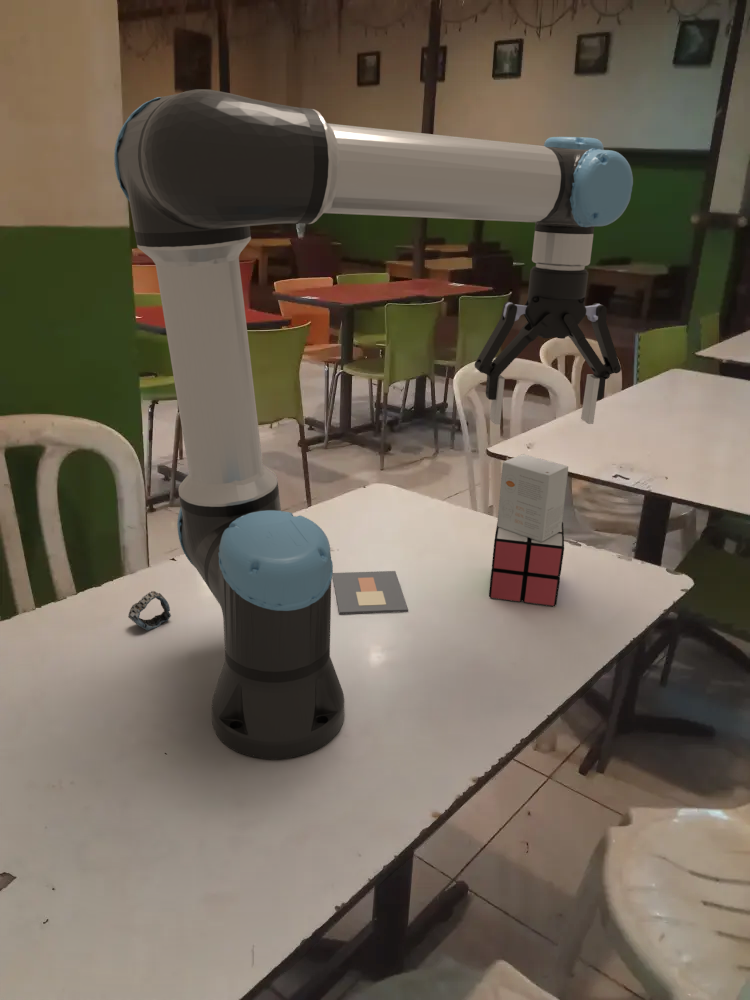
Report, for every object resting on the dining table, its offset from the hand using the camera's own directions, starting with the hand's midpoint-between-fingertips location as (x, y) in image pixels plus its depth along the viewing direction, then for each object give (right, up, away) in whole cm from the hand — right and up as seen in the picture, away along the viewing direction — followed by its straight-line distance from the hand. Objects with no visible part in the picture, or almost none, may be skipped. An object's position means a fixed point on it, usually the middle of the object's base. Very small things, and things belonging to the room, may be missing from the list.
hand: (541, 421), depth 111 cm
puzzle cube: (-1, -25, +10) cm, 27 cm away
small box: (-1, -16, +6) cm, 17 cm away
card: (-25, -25, +7) cm, 36 cm away
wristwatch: (-54, -29, -4) cm, 62 cm away
